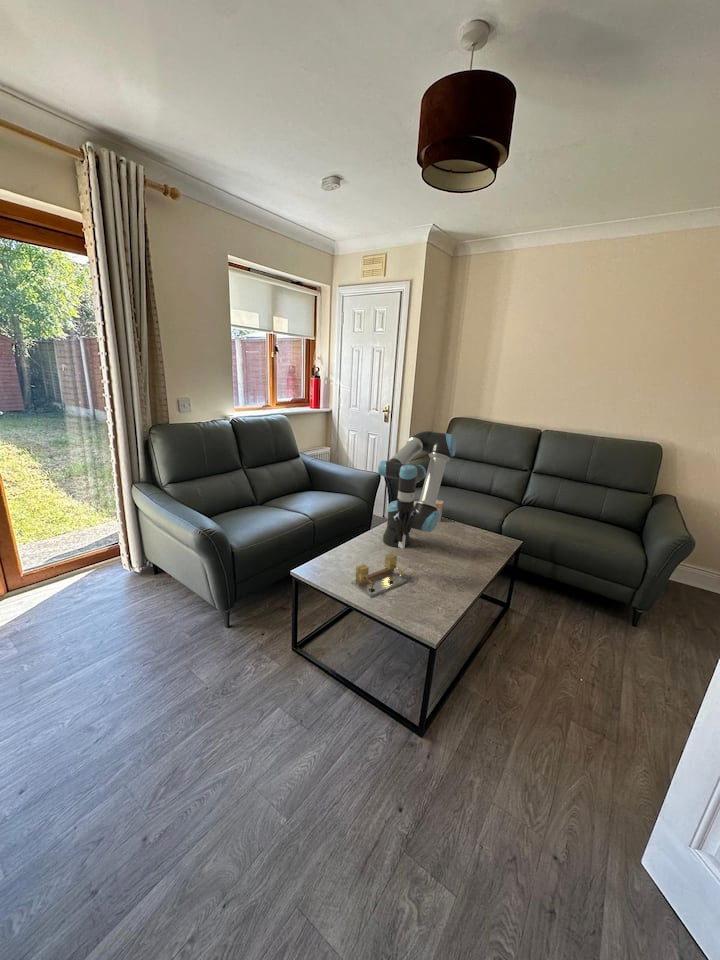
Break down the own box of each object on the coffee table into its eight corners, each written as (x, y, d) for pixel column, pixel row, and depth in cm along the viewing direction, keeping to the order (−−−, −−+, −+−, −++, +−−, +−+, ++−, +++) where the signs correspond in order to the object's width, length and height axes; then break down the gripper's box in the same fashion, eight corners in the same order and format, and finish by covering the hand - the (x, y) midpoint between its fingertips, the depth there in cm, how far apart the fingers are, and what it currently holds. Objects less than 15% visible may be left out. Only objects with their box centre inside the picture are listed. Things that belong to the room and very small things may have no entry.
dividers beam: (354, 582, 170) (355, 566, 168) (389, 569, 183) (390, 553, 181) (368, 593, 163) (369, 576, 161) (404, 578, 176) (405, 562, 173)
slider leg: (384, 570, 181) (385, 555, 178) (390, 567, 183) (391, 552, 181) (398, 579, 173) (400, 563, 171) (405, 576, 176) (406, 561, 174)
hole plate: (351, 583, 171) (351, 581, 171) (386, 569, 184) (386, 567, 184) (370, 597, 162) (370, 595, 162) (405, 582, 175) (405, 580, 174)
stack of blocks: (407, 516, 250) (408, 498, 246) (408, 513, 255) (410, 495, 252) (440, 522, 244) (442, 503, 240) (441, 518, 250) (443, 500, 246)
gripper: (401, 504, 168) (396, 553, 174) (421, 499, 176) (416, 547, 182) (389, 499, 173) (385, 547, 180) (409, 495, 181) (405, 541, 188)
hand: (401, 547), depth 181 cm, fingers closed
